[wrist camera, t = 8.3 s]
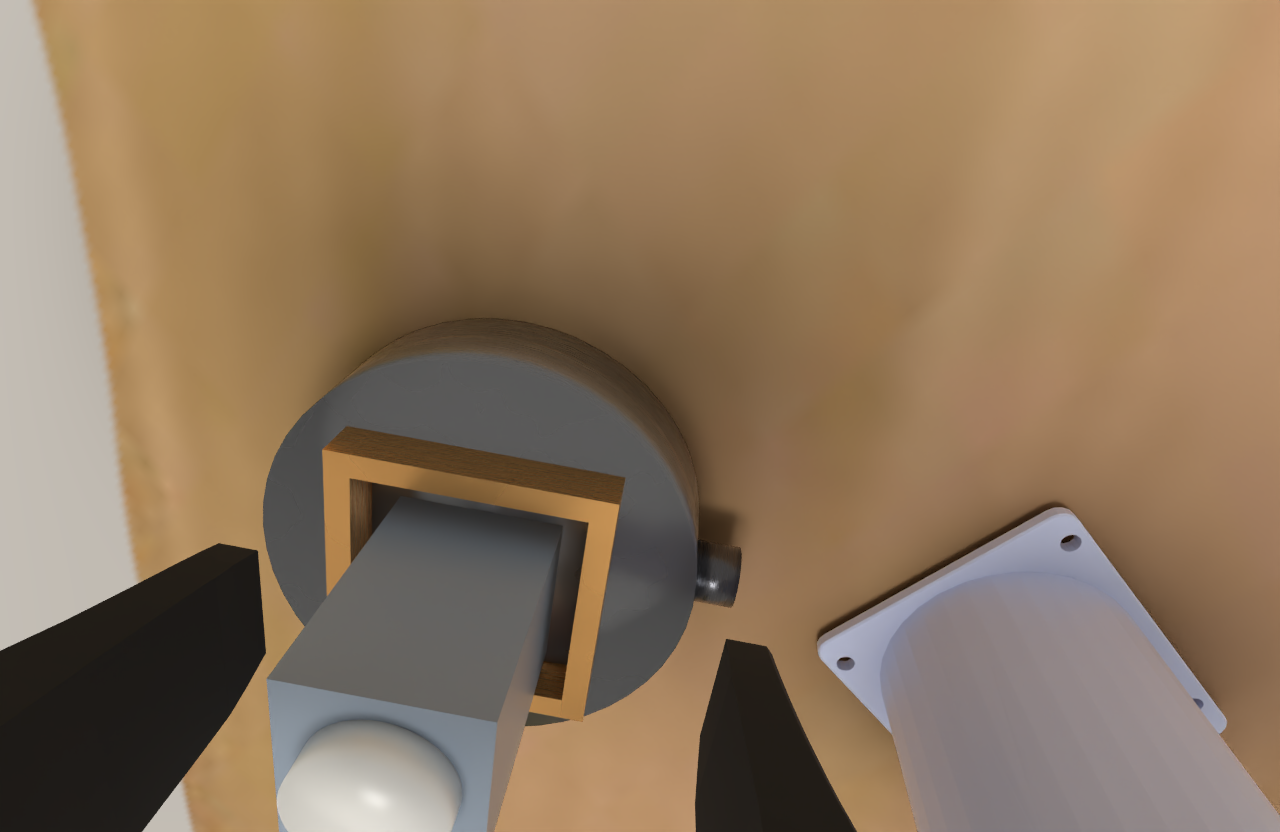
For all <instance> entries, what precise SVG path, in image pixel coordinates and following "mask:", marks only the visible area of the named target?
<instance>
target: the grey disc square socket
mask: <svg viewBox="0 0 1280 832" xmlns="http://www.w3.org/2000/svg"><path fill="white" fill-rule="evenodd" d="M400 496H403V497H409V498H414V499H419V500H425V501H430V502H436V503H441V504H446V505H452V506H457V507H463V508H468V509H473V510H479V511H484V512H490V513H495V514H500V515H506V516H511V517H517V518H522V519H528V520H533V521H538V522H544V523H549V524H555V525H560V526H563V531H562V538H561V546H560V554H559V561H558V569H557V576H556V584H555V591H554V599H553V606H552V614H551V621H550V629H549V637H548V644H547V651H546V655H545V658H544V662H543V665H542V669H541V672H540V675H539V679H538V682H537V686H536V689H535V693H534V696H533V699H532V703H531V706H530V710H529V713H528V717H527V720H526V723H525V726H538V725H545V724H552V723H558V722H564V721H568V720H575V721H580V722H582V721H583V716H586V715H588V714H591V713H593V712H596V711H598V710H601V709H603V708H606V707H608V706H610V705H612V704H614V703H615V702H617V701H619V700H621V699H623V698H624V697H626V696H628V695H629V694H631V693H632V692H633V691H635V690H636V689H637V688H639V687H640V686H641V685H643V684H644V683H645V682H647V681H648V680H649V679H650V678H651V677H652V676H653V675H654V674H655V673H656V672H657V671H658V670H659V669H660V668H661V667H662V666H663V664H664V663H665V661H666V660H667V659H668V657H669V656H670V655H671V653H672V652H673V651H674V649H675V648H676V646H677V644H678V642H679V640H680V638H681V636H682V634H683V632H684V630H685V629H686V626H687V623H688V620H689V617H690V614H691V610H692V607H693V602H694V601H697V602H703V603H708V604H713V605H719V606H724V607H729V608H731V607H732V606H733V603H734V601H735V597H736V593H737V589H738V584H739V578H740V571H741V558H742V553H741V548H740V547H734V546H729V545H724V544H718V543H713V542H708V541H702V540H698V533H699V491H698V485H697V479H696V473H695V469H694V466H693V463H692V460H691V457H690V453H689V450H688V448H687V446H686V444H685V442H684V440H683V437H682V435H681V433H680V431H679V429H678V427H677V426H676V424H675V423H674V421H673V420H672V418H671V417H670V415H669V413H668V412H667V410H666V409H665V407H664V406H663V405H662V404H661V402H660V401H659V400H658V399H657V398H656V397H655V396H654V394H653V393H652V392H651V391H650V390H649V389H648V387H647V386H646V385H645V384H643V383H642V382H641V381H640V380H639V379H638V378H637V377H636V376H635V375H633V374H632V373H631V372H630V371H629V370H628V369H627V368H625V367H624V366H623V365H621V364H620V363H618V362H617V361H615V360H614V359H612V358H611V357H610V356H608V355H607V354H605V353H604V352H602V351H600V350H598V349H596V348H595V347H593V346H591V345H589V344H587V343H585V342H583V341H581V340H579V339H577V338H575V337H572V336H569V335H567V334H564V333H561V332H559V331H556V330H553V329H550V328H546V327H542V326H538V325H534V324H530V323H526V322H520V321H511V320H503V319H466V320H459V321H452V322H445V323H440V324H437V325H433V326H430V327H426V328H423V329H419V330H417V331H414V332H412V333H410V334H408V335H406V336H403V337H401V338H399V339H397V340H395V341H393V342H392V343H390V344H388V345H387V346H385V347H384V348H382V349H381V350H379V351H378V352H376V353H375V354H373V355H372V356H371V357H370V358H369V359H368V360H366V361H365V362H364V363H363V364H362V365H360V366H359V367H358V368H357V369H356V370H355V371H353V372H352V373H351V374H350V375H349V376H347V377H346V378H345V379H344V380H343V381H341V382H340V383H339V384H338V385H337V386H336V387H334V388H333V389H332V390H331V391H330V392H328V393H327V394H326V395H325V396H324V397H323V398H321V399H320V400H319V401H318V402H317V403H316V404H315V405H314V406H312V407H311V408H310V409H309V410H308V411H307V412H306V413H305V414H303V415H302V416H301V418H300V419H299V420H298V421H297V423H296V424H295V425H294V426H293V428H292V429H291V430H290V431H289V433H288V434H287V435H286V437H285V439H284V441H283V443H282V444H281V446H280V448H279V450H278V452H277V453H276V455H275V458H274V460H273V463H272V466H271V469H270V472H269V475H268V478H267V483H266V489H265V495H264V501H263V527H264V534H265V541H266V547H267V552H268V555H269V558H270V562H271V565H272V568H273V572H274V574H275V576H276V578H277V581H278V583H279V585H280V587H281V590H282V592H283V594H284V596H285V597H286V599H287V601H288V602H289V604H290V606H291V607H292V609H293V611H294V612H295V614H296V616H297V617H298V618H299V619H300V621H301V622H302V623H303V625H304V626H306V625H307V623H308V622H309V620H310V619H311V618H312V616H313V615H314V614H315V612H316V611H317V610H318V608H319V607H320V605H321V604H322V603H323V601H324V600H325V599H326V597H327V596H328V595H329V593H330V592H331V590H332V589H333V588H334V586H335V585H336V584H337V582H338V581H339V580H340V578H341V577H342V575H343V574H344V573H345V571H346V570H347V569H348V567H349V566H350V565H351V563H352V562H353V560H354V559H355V558H356V556H357V555H358V554H359V552H360V551H361V550H362V548H363V547H364V545H365V544H366V543H367V541H368V540H369V539H370V537H371V536H372V535H373V533H374V532H375V530H376V529H377V528H378V526H379V525H380V524H381V522H382V521H383V520H384V518H385V517H386V515H387V514H388V513H389V511H390V510H391V509H392V507H393V506H394V505H395V503H396V502H397V500H398V499H399V498H400Z"/></svg>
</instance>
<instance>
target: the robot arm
mask: <svg viewBox="0 0 1280 832" xmlns="http://www.w3.org/2000/svg"><path fill="white" fill-rule="evenodd" d="M1069 535H1075V536H1074V538H1073V539H1072V540H1071V541H1070V542H1066V543H1061V540H1062V539H1063V538H1065V537H1066V536H1069ZM817 650H818V655H819V657H820V659H821V660H822V661H823V662H824V663H825V664H826V665H827V666H828V667H829V669H830V670H831V671H832V672H833V673H834V674H835V675H836V676H837V677H838V678H839V679H840V680H841V681H842V682H843V683H844V684H845V685H846V686H847V688H848V689H849V690H850V691H851V692H852V693H853V694H854V695H855V696H856V697H857V698H858V699H859V700H860V701H861V702H862V703H863V704H864V706H865V707H866V708H867V709H868V710H869V711H870V712H871V713H872V714H873V715H874V716H875V717H876V718H877V719H878V720H879V721H880V722H881V724H882V725H883V726H884V727H885V728H886V729H887V730H888V731H889V732H890V733H891V734H892V735H893V739H894V743H895V747H896V751H897V754H898V758H899V762H900V766H901V770H902V774H903V778H904V781H905V785H906V789H907V793H908V797H909V801H910V804H911V808H912V812H913V816H914V820H915V824H916V828H917V831H918V832H1280V815H1279V814H1278V813H1277V811H1276V810H1275V809H1274V807H1273V806H1272V805H1271V803H1270V802H1269V801H1268V799H1267V798H1266V797H1265V795H1264V794H1263V792H1262V791H1261V790H1260V788H1259V787H1258V786H1257V784H1256V783H1255V782H1254V780H1253V779H1252V778H1251V776H1250V775H1249V774H1248V772H1247V771H1246V770H1245V768H1244V767H1243V766H1242V764H1241V763H1240V762H1239V760H1238V759H1237V758H1236V756H1235V755H1234V754H1233V752H1232V751H1231V750H1230V748H1229V747H1228V746H1227V744H1226V743H1225V742H1224V740H1223V739H1222V738H1221V736H1220V735H1219V734H1220V733H1221V732H1222V731H1223V730H1224V729H1225V728H1226V725H1227V720H1226V717H1225V716H1224V715H1223V713H1222V712H1221V711H1220V709H1219V708H1218V707H1217V705H1216V704H1215V703H1214V701H1213V700H1212V699H1211V697H1210V696H1209V695H1208V693H1207V692H1206V691H1205V689H1204V688H1203V686H1202V685H1201V684H1200V682H1199V681H1198V680H1197V678H1196V677H1195V676H1194V674H1193V673H1192V672H1191V670H1190V669H1189V668H1188V666H1187V665H1186V664H1185V662H1184V661H1183V660H1182V658H1181V657H1180V656H1179V654H1178V653H1177V651H1176V650H1175V649H1174V647H1173V646H1172V645H1171V643H1170V642H1169V641H1168V639H1167V638H1166V637H1165V635H1164V634H1163V633H1162V631H1161V630H1160V629H1159V627H1158V626H1157V625H1156V623H1155V622H1154V620H1153V619H1152V618H1151V616H1150V615H1149V614H1148V612H1147V611H1146V610H1145V608H1144V607H1143V606H1142V604H1141V603H1140V602H1139V600H1138V599H1137V598H1136V596H1135V595H1134V594H1133V592H1132V591H1131V589H1130V588H1129V587H1128V585H1127V584H1126V583H1125V581H1124V580H1123V579H1122V577H1121V576H1120V575H1119V573H1118V572H1117V571H1116V569H1115V568H1114V567H1113V565H1112V564H1111V563H1110V561H1109V560H1108V558H1107V557H1106V556H1105V554H1104V553H1103V552H1102V550H1101V549H1100V548H1099V546H1098V545H1097V544H1096V542H1095V541H1094V540H1093V538H1092V537H1091V536H1090V534H1089V533H1088V532H1087V530H1086V529H1085V527H1084V526H1083V525H1082V523H1081V522H1080V521H1079V519H1078V518H1077V517H1076V516H1075V514H1074V513H1073V512H1071V511H1070V510H1069V509H1066V508H1063V507H1056V508H1051V509H1049V510H1046V511H1044V512H1043V513H1041V514H1039V515H1037V516H1035V517H1034V518H1032V519H1030V520H1028V521H1026V522H1025V523H1023V524H1021V525H1019V526H1017V527H1016V528H1014V529H1012V530H1010V531H1008V532H1007V533H1005V534H1003V535H1001V536H999V537H998V538H996V539H994V540H992V541H990V542H989V543H987V544H985V545H983V546H981V547H980V548H978V549H976V550H974V551H973V552H971V553H969V554H967V555H965V556H964V557H962V558H960V559H958V560H956V561H955V562H953V563H951V564H949V565H947V566H946V567H944V568H942V569H940V570H938V571H937V572H935V573H933V574H931V575H929V576H928V577H926V578H924V579H922V580H920V581H919V582H917V583H915V584H913V585H912V586H910V587H908V588H906V589H904V590H903V591H901V592H899V593H897V594H895V595H894V596H892V597H890V598H888V599H886V600H885V601H883V602H881V603H879V604H877V605H876V606H874V607H872V608H870V609H868V610H867V611H865V612H863V613H861V614H859V615H858V616H856V617H854V618H852V619H850V620H849V621H847V622H845V623H843V624H842V625H840V626H838V627H836V628H834V629H833V630H831V631H829V632H827V633H825V634H824V635H823V636H821V637H820V638H819V640H818V642H817ZM265 653H266V648H265V636H264V623H263V610H262V598H261V585H260V573H259V560H258V551H257V550H252V549H246V548H241V547H236V546H230V545H225V544H220V543H218V544H216V545H214V546H212V547H210V548H208V549H205V550H203V551H201V552H199V553H197V554H195V555H193V556H191V557H189V558H187V559H185V560H183V561H181V562H179V563H177V564H175V565H173V566H171V567H169V568H167V569H165V570H164V571H162V572H160V573H158V574H156V575H154V576H152V577H150V578H148V579H146V580H144V581H142V582H140V583H138V584H136V585H134V586H133V587H131V588H129V589H127V590H125V591H123V592H121V593H119V594H117V595H115V596H113V597H111V598H109V599H107V600H105V601H103V602H101V603H99V604H97V605H95V606H93V607H91V608H89V609H87V610H85V611H83V612H81V613H79V614H77V615H75V616H73V617H71V618H69V619H68V620H65V621H63V622H61V623H59V624H57V625H55V626H52V627H50V628H48V629H46V630H44V631H42V632H40V633H37V634H35V635H33V636H31V637H29V638H27V639H25V640H23V641H20V642H18V643H16V644H14V645H12V646H10V647H7V648H5V649H3V650H1V651H0V832H142V831H143V830H144V828H145V827H146V826H147V824H148V823H149V822H150V820H151V819H152V818H153V816H154V815H155V814H156V813H157V811H158V810H159V809H160V807H161V806H162V805H163V803H164V802H165V801H166V799H167V798H168V797H169V795H170V794H171V793H172V791H173V790H174V789H175V788H176V786H177V785H178V784H179V782H180V781H181V780H182V778H183V777H184V776H185V774H186V773H187V772H188V770H189V769H190V768H191V767H192V765H193V764H194V763H195V761H196V760H197V759H198V757H199V756H200V755H201V753H202V752H203V751H204V749H205V748H206V747H207V745H208V744H209V743H210V741H211V740H212V739H213V737H214V736H215V735H216V733H217V732H218V731H219V729H220V728H221V726H222V725H223V724H224V722H225V721H226V720H227V718H228V717H229V715H230V714H231V712H232V711H233V709H234V707H235V706H236V704H237V702H238V701H239V699H240V697H241V696H242V694H243V692H244V691H245V689H246V687H247V686H248V684H249V682H250V680H251V679H252V677H253V675H254V673H255V671H256V670H257V668H258V666H259V664H260V662H261V661H262V659H263V657H264V655H265ZM842 657H850V659H849V660H847V661H839V659H840V658H842ZM695 816H696V832H857V831H856V829H855V828H854V826H853V824H852V822H851V821H850V819H849V817H848V815H847V813H846V812H845V810H844V808H843V806H842V805H841V803H840V801H839V799H838V797H837V795H836V793H835V792H834V790H833V788H832V786H831V784H830V782H829V780H828V778H827V776H826V774H825V772H824V770H823V768H822V766H821V764H820V762H819V760H818V758H817V756H816V754H815V752H814V750H813V748H812V746H811V744H810V742H809V740H808V738H807V736H806V734H805V732H804V730H803V728H802V725H801V723H800V721H799V719H798V717H797V714H796V712H795V710H794V708H793V705H792V703H791V701H790V698H789V696H788V694H787V691H786V689H785V687H784V684H783V682H782V679H781V677H780V674H779V672H778V669H777V667H776V664H775V661H774V659H773V656H772V654H771V652H770V651H769V649H768V648H767V647H766V646H761V645H756V644H751V643H745V642H740V641H735V640H729V639H726V642H725V645H724V649H723V653H722V657H721V660H720V664H719V668H718V671H717V675H716V679H715V683H714V686H713V690H712V694H711V697H710V701H709V705H708V709H707V712H706V716H705V720H704V723H703V727H702V731H701V734H700V744H699V757H698V770H697V784H696V799H695Z"/></svg>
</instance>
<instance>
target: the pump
mask: <svg viewBox="0 0 1280 832" xmlns="http://www.w3.org/2000/svg"><path fill="white" fill-rule="evenodd" d="M562 531H563V526H560V525H555V524H549V523H544V522H538V521H533V520H528V519H522V518H517V517H511V516H506V515H500V514H495V513H490V512H484V511H479V510H473V509H468V508H463V507H457V506H452V505H446V504H441V503H436V502H430V501H425V500H419V499H414V498H409V497H403V496H400V498H399V499H398V500H397V502H396V503H395V505H394V506H393V507H392V509H391V510H390V511H389V513H388V514H387V515H386V517H385V518H384V520H383V521H382V522H381V524H380V525H379V526H378V528H377V529H376V530H375V532H374V533H373V535H372V536H371V537H370V539H369V540H368V541H367V543H366V544H365V545H364V547H363V548H362V550H361V551H360V552H359V554H358V555H357V556H356V558H355V559H354V560H353V562H352V563H351V565H350V566H349V567H348V569H347V570H346V571H345V573H344V574H343V575H342V577H341V578H340V580H339V581H338V582H337V584H336V585H335V586H334V588H333V589H332V590H331V592H330V593H329V595H328V596H327V597H326V599H325V600H324V601H323V603H322V604H321V605H320V607H319V608H318V610H317V611H316V612H315V614H314V615H313V616H312V618H311V619H310V620H309V622H308V623H307V625H306V626H305V627H304V629H303V630H302V631H301V633H300V634H299V635H298V637H297V638H296V640H295V641H294V642H293V644H292V645H291V646H290V648H289V649H288V650H287V652H286V653H285V655H284V656H283V657H282V659H281V660H280V661H279V663H278V664H277V665H276V667H275V668H274V670H273V671H272V672H271V674H270V675H269V676H268V678H267V689H268V701H269V713H270V725H271V737H272V750H273V762H274V774H275V786H276V798H277V810H278V822H279V832H494V830H495V826H496V823H497V820H498V816H499V813H500V809H501V806H502V802H503V799H504V796H505V792H506V789H507V785H508V782H509V778H510V775H511V772H512V768H513V765H514V761H515V758H516V754H517V751H518V748H519V744H520V741H521V737H522V734H523V730H524V727H525V723H526V720H527V717H528V713H529V710H530V706H531V703H532V699H533V696H534V693H535V689H536V686H537V682H538V679H539V675H540V672H541V669H542V665H543V662H544V658H545V655H546V651H547V644H548V637H549V629H550V621H551V614H552V606H553V599H554V591H555V584H556V576H557V569H558V561H559V554H560V546H561V538H562Z"/></svg>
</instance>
